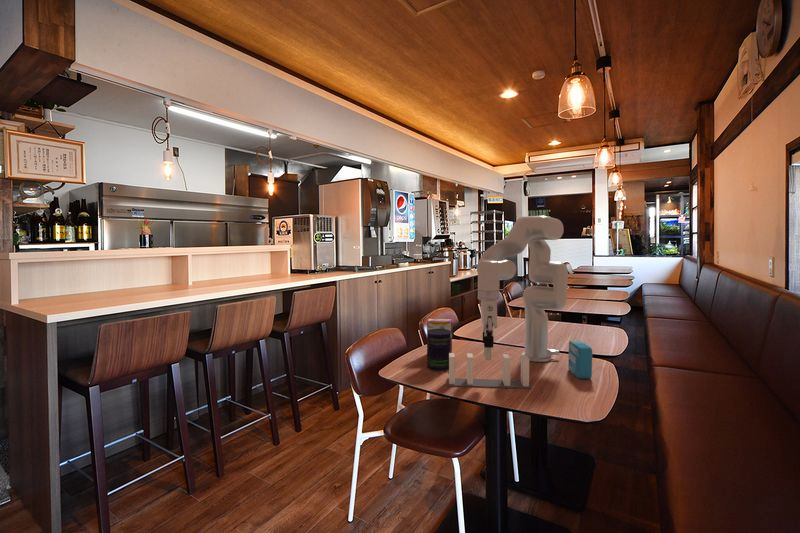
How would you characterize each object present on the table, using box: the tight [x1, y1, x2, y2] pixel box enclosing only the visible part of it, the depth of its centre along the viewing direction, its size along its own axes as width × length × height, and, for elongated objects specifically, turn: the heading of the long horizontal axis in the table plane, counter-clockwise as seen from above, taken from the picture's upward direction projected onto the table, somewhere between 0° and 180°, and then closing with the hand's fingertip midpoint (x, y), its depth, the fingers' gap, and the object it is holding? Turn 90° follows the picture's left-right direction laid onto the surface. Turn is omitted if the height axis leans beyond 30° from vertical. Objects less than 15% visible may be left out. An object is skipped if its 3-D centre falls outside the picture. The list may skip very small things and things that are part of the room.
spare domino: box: [483, 329, 492, 361], centre depth 146 cm, size 2×5×10 cm, turn 174°
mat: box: [446, 377, 533, 390], centre depth 147 cm, size 30×7×1 cm, turn 84°
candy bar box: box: [426, 318, 453, 355], centre depth 181 cm, size 11×5×16 cm, turn 84°
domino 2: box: [466, 352, 474, 385], centre depth 148 cm, size 2×5×10 cm, turn 173°
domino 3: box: [501, 353, 511, 386], centre depth 146 cm, size 2×5×10 cm, turn 173°
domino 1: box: [448, 352, 456, 384], centre depth 148 cm, size 2×5×10 cm, turn 174°
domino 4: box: [520, 354, 530, 386], centre depth 145 cm, size 2×5×10 cm, turn 173°
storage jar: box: [426, 329, 451, 372], centre depth 166 cm, size 10×10×15 cm
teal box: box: [567, 340, 593, 380], centre depth 156 cm, size 12×4×12 cm, turn 176°
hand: (487, 344), depth 146 cm, fingers closed on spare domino, 4 cm apart
